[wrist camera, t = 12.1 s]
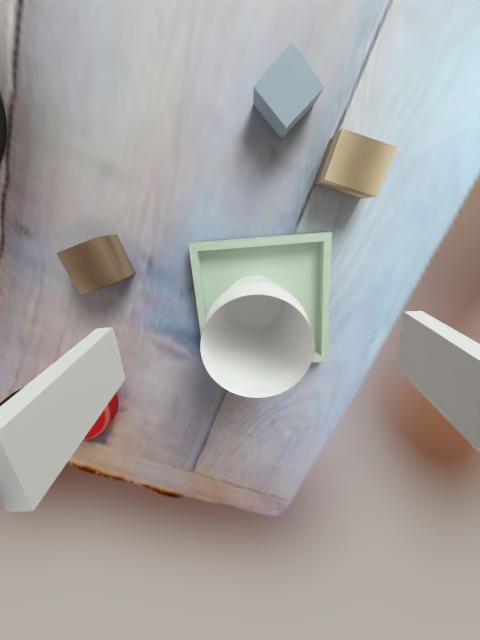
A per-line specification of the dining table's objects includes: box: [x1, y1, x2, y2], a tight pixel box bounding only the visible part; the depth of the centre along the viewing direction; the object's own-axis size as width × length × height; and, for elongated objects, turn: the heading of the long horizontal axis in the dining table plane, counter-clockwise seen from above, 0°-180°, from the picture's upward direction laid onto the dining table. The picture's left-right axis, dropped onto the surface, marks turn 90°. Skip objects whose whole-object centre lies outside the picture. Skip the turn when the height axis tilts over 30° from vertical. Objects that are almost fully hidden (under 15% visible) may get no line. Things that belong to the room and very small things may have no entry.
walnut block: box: [57, 234, 135, 296], centre depth 30 cm, size 4×4×4 cm
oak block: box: [315, 129, 397, 199], centre depth 27 cm, size 5×4×4 cm
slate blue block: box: [253, 43, 324, 140], centre depth 25 cm, size 4×4×4 cm
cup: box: [200, 275, 315, 398], centre depth 27 cm, size 9×9×12 cm
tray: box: [188, 231, 332, 363], centre depth 32 cm, size 15×15×2 cm
